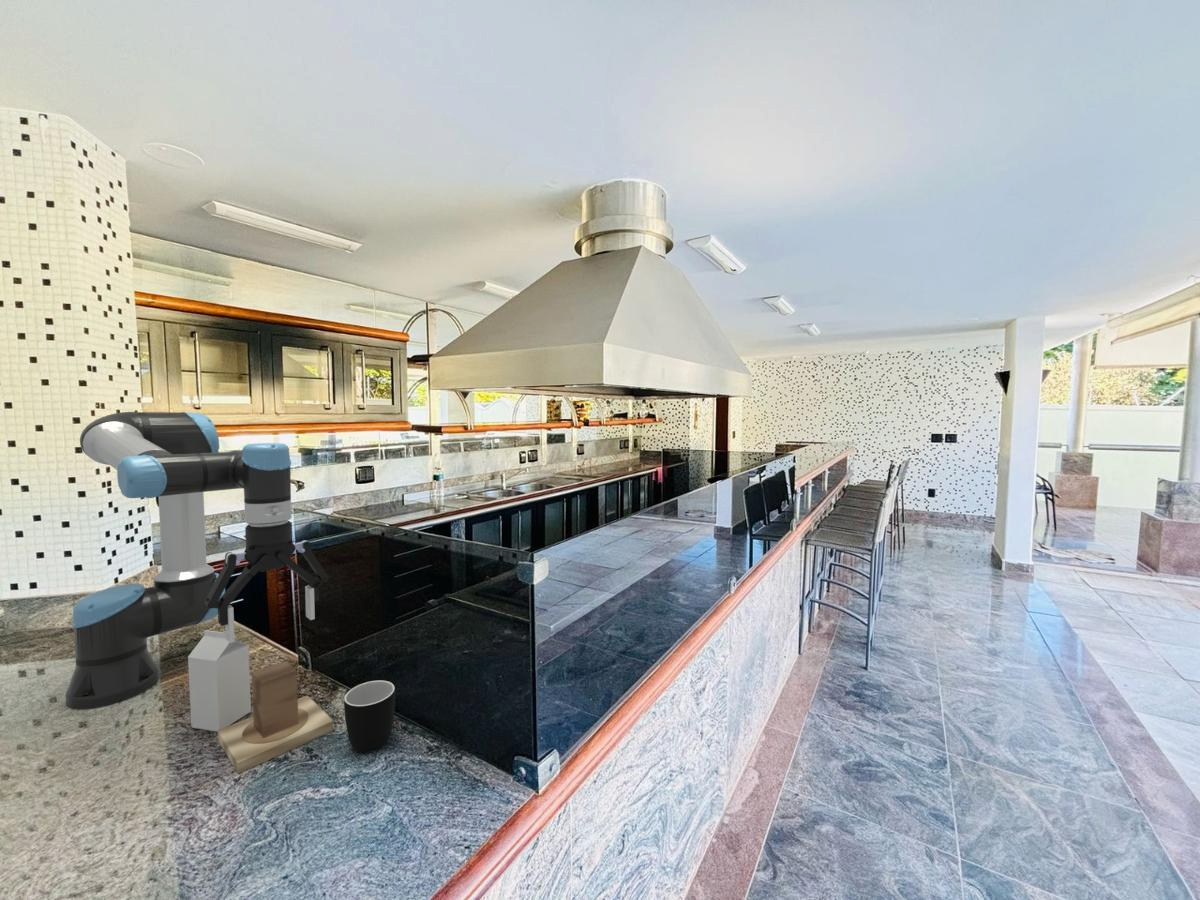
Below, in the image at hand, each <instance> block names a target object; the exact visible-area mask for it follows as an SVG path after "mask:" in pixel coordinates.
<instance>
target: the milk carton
mask: <svg viewBox="0 0 1200 900" xmlns="http://www.w3.org/2000/svg"><path fill="white" fill-rule="evenodd" d="M234 638H236V635H235V634H234ZM187 663H188V664H187V666H188V683H189V684H188V685H189V705H190V707H189V708H190V724H191V725H190V726H191V728H193V729H198V730H206V731H210V732H215V733H216V732H217V733H218V731H217V730H220V729H222V728H225V727H228V726H230V725H233V724H235V722H236V721H239V720H240V719H242V718H243V717H244V716H246V715H248V714H249V713H251V711H252V706H251V705H252V704H251V701H252V700H251V681H250V679H251V678H250V677H251V676H250V650H249V644H248V643H245V642H242V641H241V640H238V639H235V642H232V643H229V642H228V641H227V640H226V632H224V631H215V630H208V629H207V630H206V629H204V630H203V637H202V638H201V639H200V640H199V641H198V643H197V645H196V646H195V647H194V649H192V651H191V652H190V654H188V656H187Z"/></svg>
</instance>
